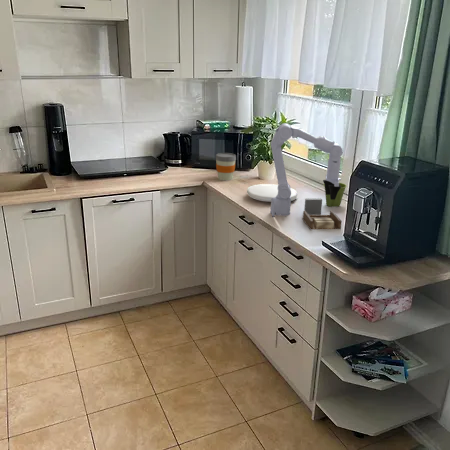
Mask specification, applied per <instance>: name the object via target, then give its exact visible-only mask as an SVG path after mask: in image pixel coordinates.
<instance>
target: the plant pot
mask: <svg viewBox="0 0 450 450" xmlns="http://www.w3.org/2000/svg"><path fill="white" fill-rule="evenodd" d="M322 185H323V187H324V188H325V185H324V183H323V184H322ZM339 185H340V186H341V188H340V190H339V191H338V193H337V196H336V199H335V200H331V199H330V195H326V192H325V191H324V192H325V193H324V194H325V204H326V206H327V207H329V208H332V207H333V208H334V207H336V208H338V207H341V205H342V200H343V197H344V193H345V190H346V188H347V187H348V186H347V185H348V184H346V183H343V182H339Z"/></svg>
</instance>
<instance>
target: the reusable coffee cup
mask: <svg viewBox="0 0 450 450" xmlns="http://www.w3.org/2000/svg"><path fill="white" fill-rule="evenodd" d="M236 156H237V155H236V154H234V153H231V152H220V153H219V152H218V153H217V154H215V161H216V163H215V167H216V172H217V179H218V180H219V181H231V180H233V177H234V173H235V169H236V160H237V157H236Z"/></svg>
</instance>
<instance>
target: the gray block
mask: <svg viewBox="0 0 450 450" xmlns="http://www.w3.org/2000/svg"><path fill="white" fill-rule="evenodd" d="M322 206H323V198H321V197H320V198H319V197H318V198H305V199H304V209H303V211H306V212H307V213H308V215H322Z"/></svg>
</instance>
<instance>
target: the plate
mask: <svg viewBox="0 0 450 450" xmlns="http://www.w3.org/2000/svg"><path fill="white" fill-rule="evenodd" d="M290 190H291V202H293V201H294V200H297V198H298V192H297V190H296V189H294V188H292V187H290ZM246 193H247V195H248V197H250V198H251V199H254V200H257V201H261V202H268V203H271V199H272V198H275V197H276V196H277V195H278V184H276V183H275V184H273V183H261V184H254V185H251V186H248V187H247V190H246Z"/></svg>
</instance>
